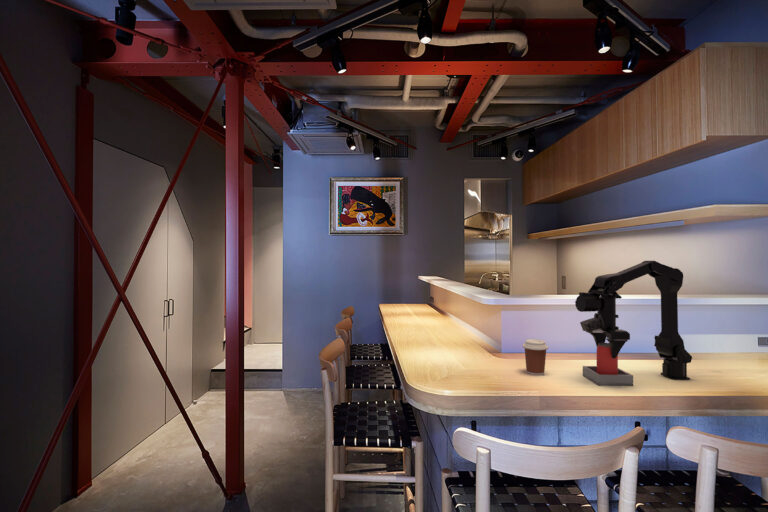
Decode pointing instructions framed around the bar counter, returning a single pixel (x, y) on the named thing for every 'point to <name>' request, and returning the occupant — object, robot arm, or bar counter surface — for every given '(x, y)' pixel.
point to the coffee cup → (535, 356)
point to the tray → (608, 377)
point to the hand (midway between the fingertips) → (606, 355)
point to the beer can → (606, 360)
